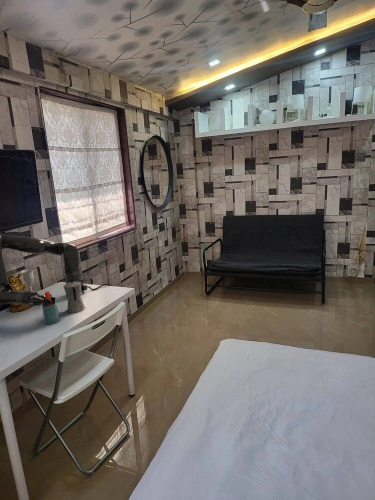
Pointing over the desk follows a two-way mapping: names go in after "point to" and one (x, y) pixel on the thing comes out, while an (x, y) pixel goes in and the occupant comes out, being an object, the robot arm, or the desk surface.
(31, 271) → the chalice
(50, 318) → the cup
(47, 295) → the red cylindrical rod
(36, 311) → the desk surface
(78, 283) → the coffeepot
